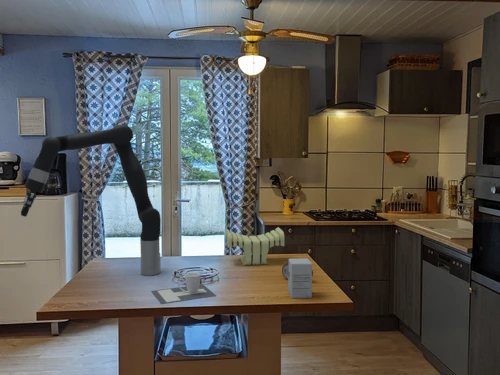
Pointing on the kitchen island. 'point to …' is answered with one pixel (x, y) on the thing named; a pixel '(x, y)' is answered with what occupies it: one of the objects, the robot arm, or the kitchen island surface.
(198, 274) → the cup
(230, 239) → the slatted curved stool
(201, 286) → the t mat
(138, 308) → the kitchen island surface
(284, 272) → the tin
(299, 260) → the supplement box
